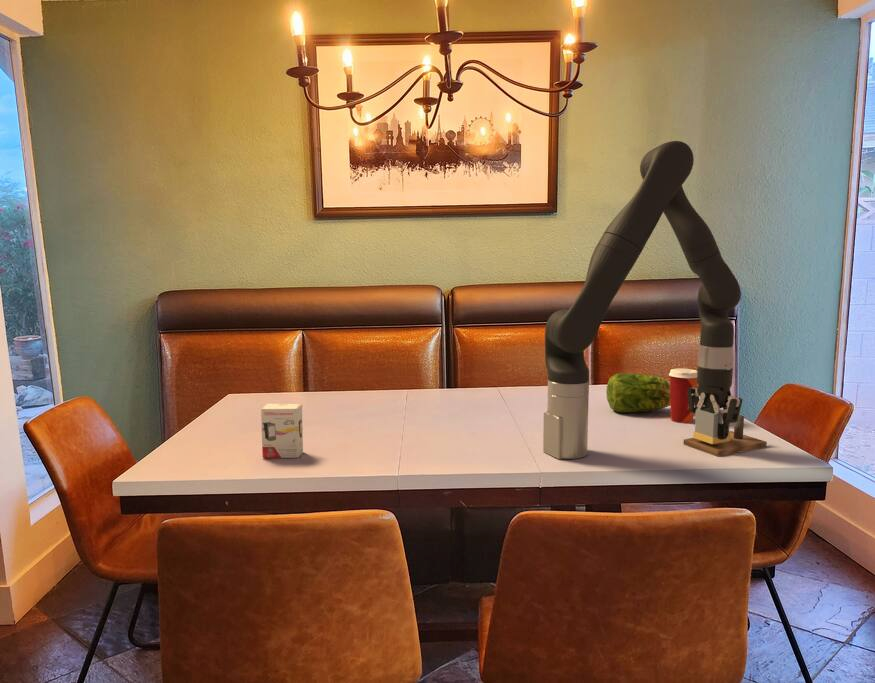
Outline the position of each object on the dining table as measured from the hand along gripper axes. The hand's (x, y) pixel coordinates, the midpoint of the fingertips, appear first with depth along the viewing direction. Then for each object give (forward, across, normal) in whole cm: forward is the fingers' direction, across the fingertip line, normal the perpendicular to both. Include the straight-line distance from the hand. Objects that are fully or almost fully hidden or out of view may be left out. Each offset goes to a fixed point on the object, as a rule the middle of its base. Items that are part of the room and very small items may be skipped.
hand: (711, 435), depth 143 cm
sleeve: (+1, 0, 0) cm, 1 cm away
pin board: (+3, 0, +4) cm, 5 cm away
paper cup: (+3, -21, +12) cm, 25 cm away
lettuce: (+3, -33, +10) cm, 35 cm away
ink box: (+3, -40, -92) cm, 101 cm away
